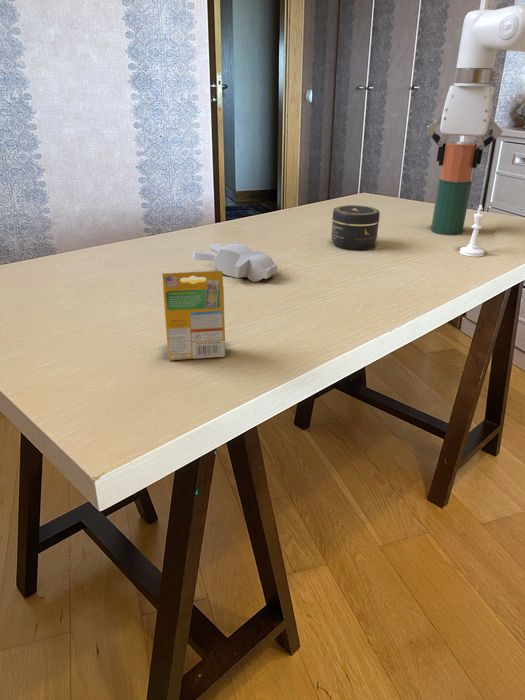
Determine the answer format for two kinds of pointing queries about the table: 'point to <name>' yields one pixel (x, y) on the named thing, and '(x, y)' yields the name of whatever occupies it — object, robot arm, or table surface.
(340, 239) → the jar
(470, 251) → the chess piece
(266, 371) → the table surface
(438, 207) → the bottle
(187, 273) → the crayon box
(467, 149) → the terracotta orange cylinder
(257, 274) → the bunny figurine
